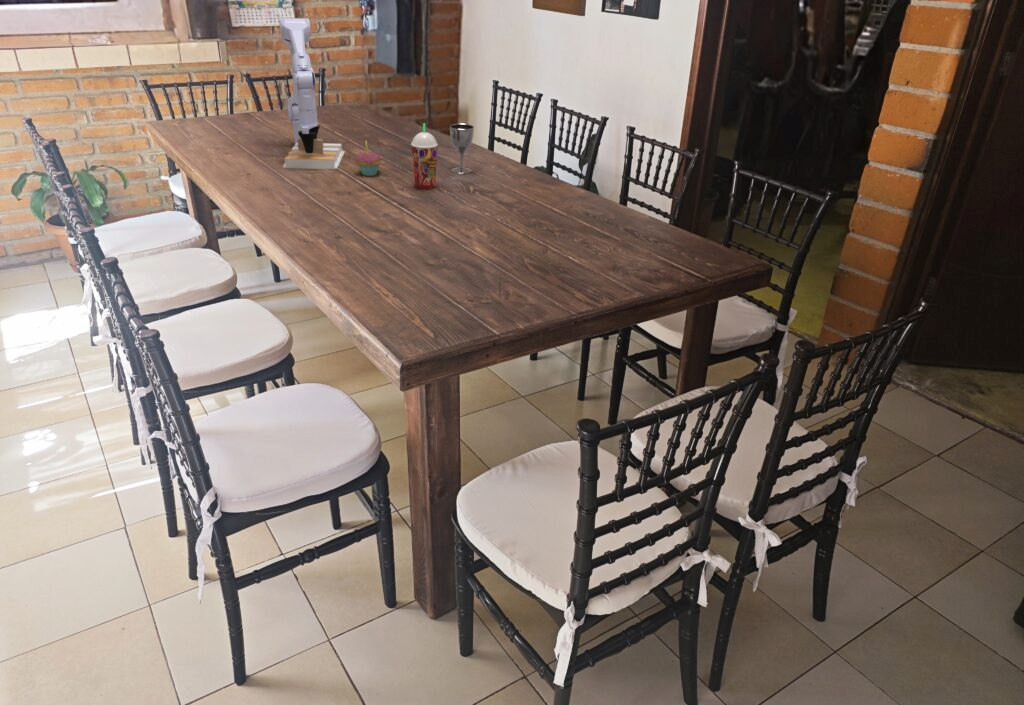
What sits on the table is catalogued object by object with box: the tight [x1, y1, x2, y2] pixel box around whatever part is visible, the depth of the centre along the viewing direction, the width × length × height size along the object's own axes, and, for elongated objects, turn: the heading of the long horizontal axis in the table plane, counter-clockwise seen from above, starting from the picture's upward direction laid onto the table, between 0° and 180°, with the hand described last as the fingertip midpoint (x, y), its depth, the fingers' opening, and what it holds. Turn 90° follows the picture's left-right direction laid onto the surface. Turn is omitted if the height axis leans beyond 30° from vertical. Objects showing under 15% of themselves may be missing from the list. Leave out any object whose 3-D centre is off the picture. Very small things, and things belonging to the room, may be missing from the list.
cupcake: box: [355, 140, 382, 177], centre depth 248 cm, size 9×8×12 cm
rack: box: [282, 142, 346, 170], centre depth 262 cm, size 22×18×3 cm
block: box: [298, 138, 324, 157], centre depth 255 cm, size 2×8×8 cm, turn 94°
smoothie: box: [410, 122, 439, 190], centre depth 237 cm, size 8×8×20 cm
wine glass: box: [449, 123, 475, 174], centre depth 256 cm, size 8×8×15 cm
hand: (310, 150), depth 255 cm, fingers open, 6 cm apart
